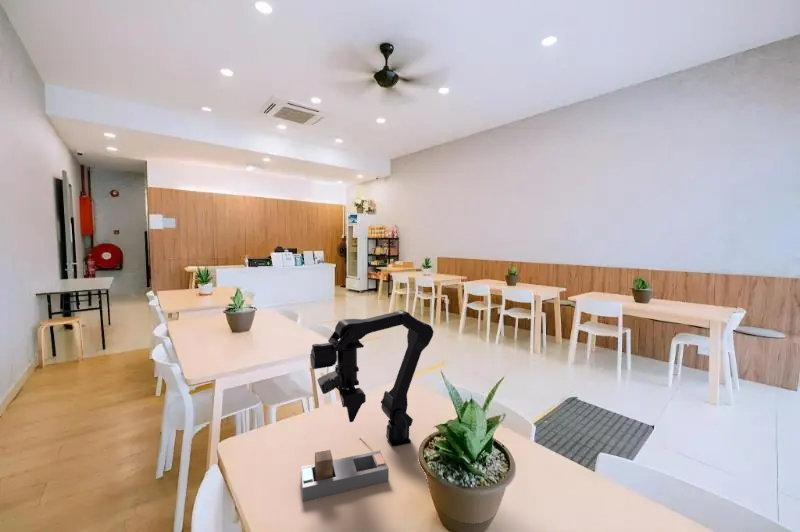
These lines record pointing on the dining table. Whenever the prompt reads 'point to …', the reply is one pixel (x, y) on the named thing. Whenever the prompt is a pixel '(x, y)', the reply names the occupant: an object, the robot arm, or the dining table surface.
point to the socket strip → (345, 475)
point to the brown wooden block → (323, 465)
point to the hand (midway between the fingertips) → (347, 413)
